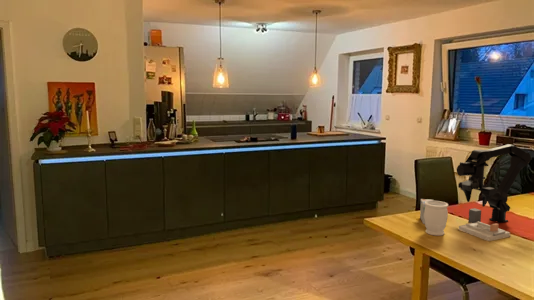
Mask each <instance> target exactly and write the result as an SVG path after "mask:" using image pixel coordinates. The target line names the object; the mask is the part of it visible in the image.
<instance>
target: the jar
mask: <svg viewBox="0 0 534 300" xmlns="http://www.w3.org/2000/svg"><path fill="white" fill-rule="evenodd" d="M425 205H426V207H425V210H424V220H425V224H424V226H425V228H426V229H425V233H426V234H428V235H431V236H439V237H440V236H443V235H445V231H444V230H445V229H446V227H447V223H448V217H449V215H448V214H449V213H448V207H449V203H448V202H445V201H440V200H434V201H426V202H425Z"/></svg>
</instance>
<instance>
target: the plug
mask: <svg viewBox="0 0 534 300" xmlns="http://www.w3.org/2000/svg"><path fill="white" fill-rule="evenodd" d="M478 221H479V222H482V210H481V209H478V208H470V209H469V210H468V223H469V224H471V223H476V222H478Z"/></svg>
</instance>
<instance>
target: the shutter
mask: <svg viewBox="0 0 534 300" xmlns="http://www.w3.org/2000/svg"><path fill="white" fill-rule="evenodd" d="M499 224H500V223H498V222H496V223H492V224H489V225H490V228H487V229H483V230H486V231H489V232H492V233H494V234H493V235H499V234H504V233H505V231H506V230H505V231H502V230H503V229H502V230H499V229H500V228H499ZM498 228H499V229H498Z"/></svg>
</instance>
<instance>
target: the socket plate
mask: <svg viewBox="0 0 534 300" xmlns="http://www.w3.org/2000/svg"><path fill="white" fill-rule="evenodd" d="M490 225H491V224H489V223H488V224H487V223H484V222H482V221H481V222H479V221H478V222H476V223H465V224H462V225H458V230H459V231H462V232H463V233H466V234H468V235H471V236H473V237H474V236H475V237H477V238H480V239H481V240H484V241H487V242H491V241H497V240H500V239H505V238H509V237H511V231H510V232H509V231H507V230H505V229H501V228H499V227H498V229H499V230H502V231H505V233H504V234H499V235H493V234H494V233H492V232H489V231H486V230H483V229H487V228H490Z"/></svg>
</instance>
